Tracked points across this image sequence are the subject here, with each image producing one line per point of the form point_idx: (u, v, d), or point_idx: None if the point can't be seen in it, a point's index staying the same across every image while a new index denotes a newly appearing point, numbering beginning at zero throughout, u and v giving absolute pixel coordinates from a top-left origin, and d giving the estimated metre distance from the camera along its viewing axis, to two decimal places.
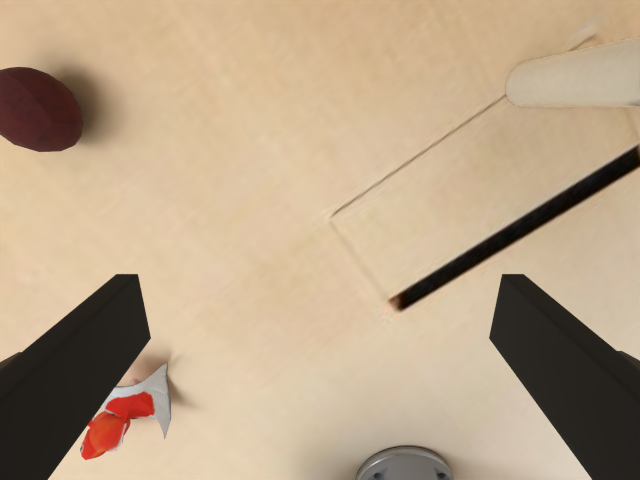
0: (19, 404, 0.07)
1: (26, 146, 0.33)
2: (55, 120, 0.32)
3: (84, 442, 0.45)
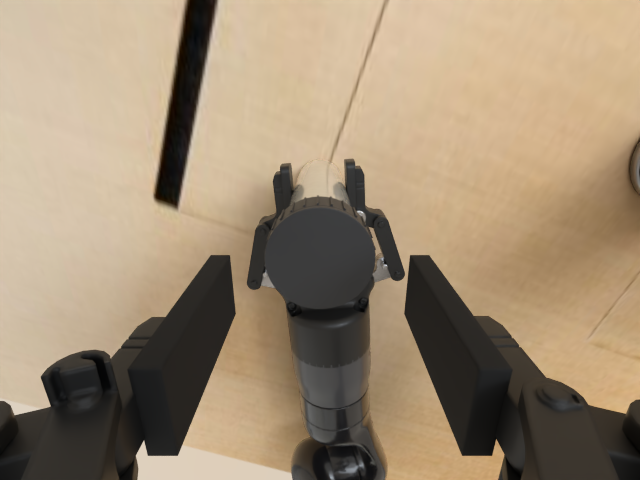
0: (181, 352, 0.09)
1: None
2: None
3: None
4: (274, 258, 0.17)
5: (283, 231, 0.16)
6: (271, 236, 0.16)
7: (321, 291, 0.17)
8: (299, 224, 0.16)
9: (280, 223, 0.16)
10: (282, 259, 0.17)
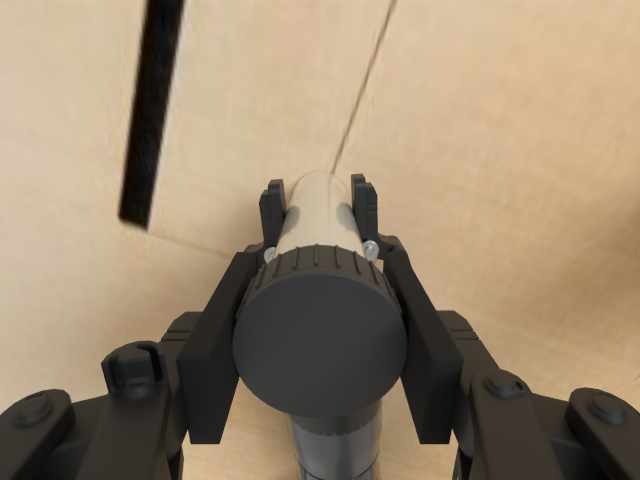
0: (222, 344, 0.09)
1: None
2: None
3: None
4: (247, 348, 0.10)
5: (260, 309, 0.10)
6: (241, 316, 0.10)
7: (322, 394, 0.11)
8: (286, 298, 0.10)
9: (255, 296, 0.10)
10: (260, 350, 0.10)
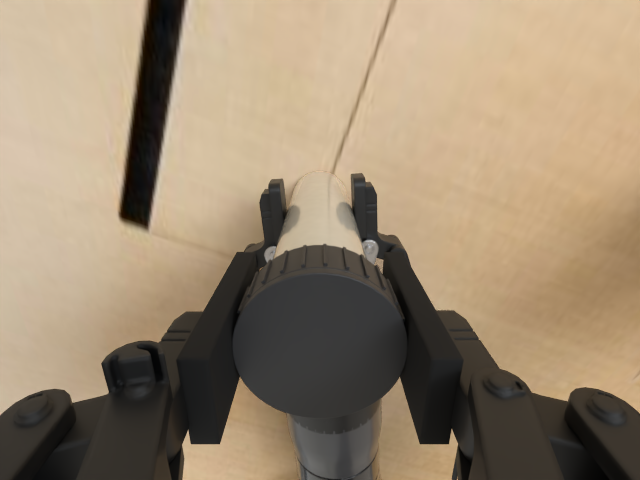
0: (222, 344, 0.09)
1: None
2: None
3: None
4: (285, 401, 0.11)
5: (252, 375, 0.11)
6: (252, 390, 0.11)
7: (368, 370, 0.11)
8: (250, 353, 0.11)
9: (239, 372, 0.11)
10: (292, 393, 0.11)
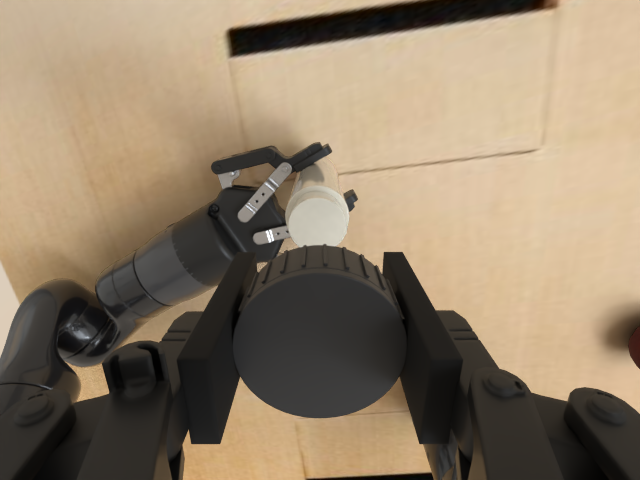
0: (222, 344, 0.09)
1: None
2: None
3: None
4: (285, 400, 0.11)
5: (252, 374, 0.11)
6: (252, 390, 0.11)
7: (368, 369, 0.11)
8: (251, 353, 0.11)
9: (239, 372, 0.11)
10: (292, 392, 0.11)
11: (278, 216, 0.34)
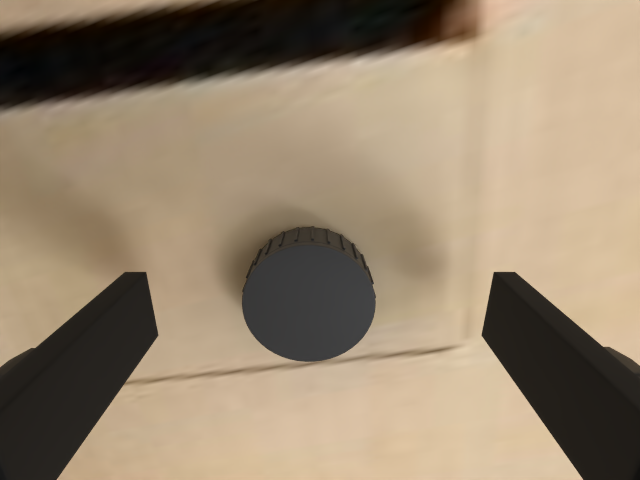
0: (35, 398, 0.08)
1: None
2: None
3: None
4: (283, 347, 0.15)
5: (257, 325, 0.14)
6: (257, 338, 0.14)
7: (346, 321, 0.14)
8: (256, 308, 0.14)
9: (247, 324, 0.14)
10: (288, 340, 0.14)
11: None
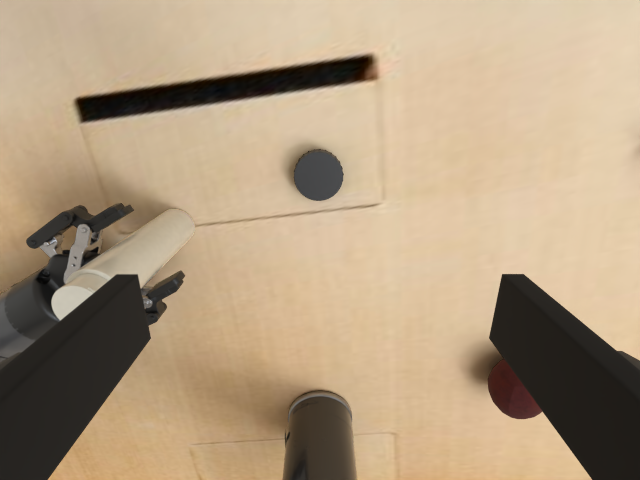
0: (19, 404, 0.07)
1: None
2: (511, 385, 0.44)
3: None
4: (308, 193, 0.39)
5: (299, 184, 0.38)
6: (299, 190, 0.39)
7: (332, 183, 0.38)
8: (299, 177, 0.38)
9: None
10: (310, 191, 0.39)
11: None
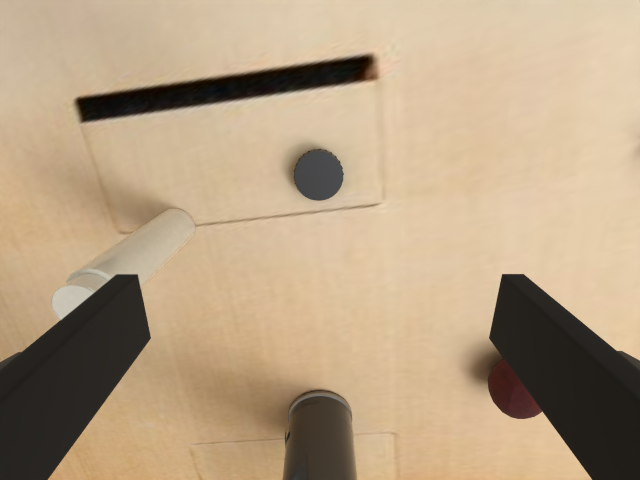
0: (19, 404, 0.07)
1: None
2: (511, 385, 0.44)
3: None
4: (308, 193, 0.39)
5: (299, 184, 0.38)
6: (299, 190, 0.39)
7: (332, 182, 0.38)
8: (299, 177, 0.38)
9: None
10: (310, 191, 0.39)
11: None
